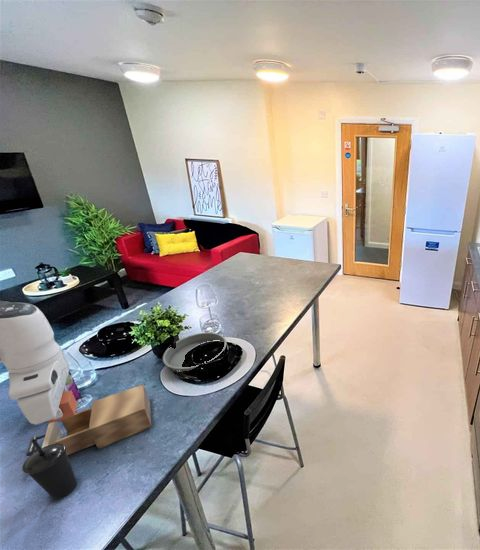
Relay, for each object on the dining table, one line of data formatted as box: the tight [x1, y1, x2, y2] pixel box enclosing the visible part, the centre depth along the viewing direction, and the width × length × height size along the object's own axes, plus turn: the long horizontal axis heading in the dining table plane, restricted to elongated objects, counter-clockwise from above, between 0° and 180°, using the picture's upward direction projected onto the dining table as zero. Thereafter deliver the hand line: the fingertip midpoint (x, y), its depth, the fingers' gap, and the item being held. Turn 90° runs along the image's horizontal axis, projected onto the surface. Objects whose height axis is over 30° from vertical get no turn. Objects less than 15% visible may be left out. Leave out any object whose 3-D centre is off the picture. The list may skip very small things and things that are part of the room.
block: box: [47, 390, 78, 424], centre depth 74 cm, size 5×5×5 cm
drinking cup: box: [21, 439, 78, 500], centre depth 75 cm, size 8×8×20 cm
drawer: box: [25, 406, 96, 457], centre depth 89 cm, size 17×11×7 cm
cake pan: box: [162, 332, 228, 373], centre depth 128 cm, size 25×25×4 cm
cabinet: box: [89, 384, 152, 450], centre depth 96 cm, size 14×13×9 cm
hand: (61, 408), depth 74 cm, fingers closed on block, 4 cm apart
